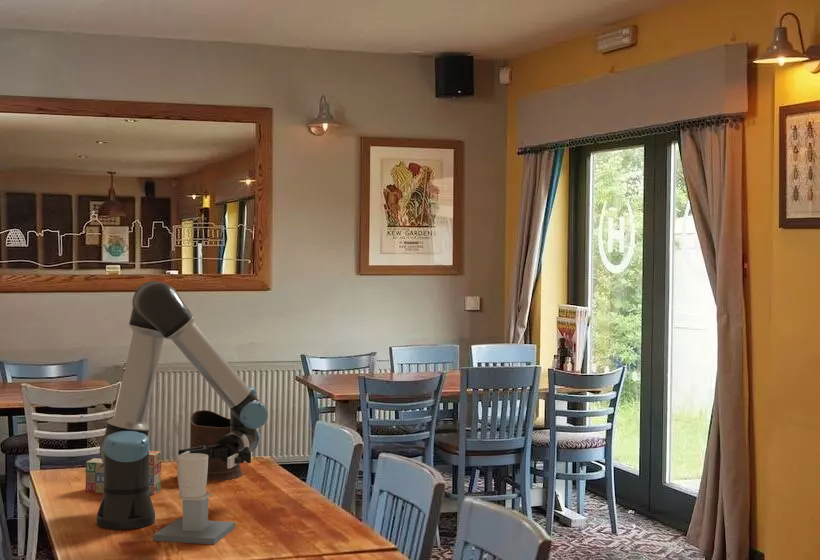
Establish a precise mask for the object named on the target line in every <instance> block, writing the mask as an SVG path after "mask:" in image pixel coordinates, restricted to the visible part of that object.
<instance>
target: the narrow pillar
mask: <svg viewBox="0 0 820 560" xmlns="http://www.w3.org/2000/svg"><path fill="white" fill-rule="evenodd" d="M211 496H212V492H211V493H210V492H209V493H208V492H206V495H204V496H201V497H194V498H187V497H181V496H179V500H181V501H182V518H177V519H174V520H173V521H172V522H170V523H169V524H167V525H165V526H163V528H161V529H160V530H158V531H157V532H155V533H153V534H152V541H154V542H168V543H170V542H171V543H185V544H187V543H188V544H199V545H201V544H202V545H216V544H217V543H218V542H219V541H221V540H222V539H223V538H225V537H226V536H227V535H228V534H230V533H231V532H232V531H233V530H235V529H236V521H225V520H224V521H221V520H209V497H211Z"/></svg>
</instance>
